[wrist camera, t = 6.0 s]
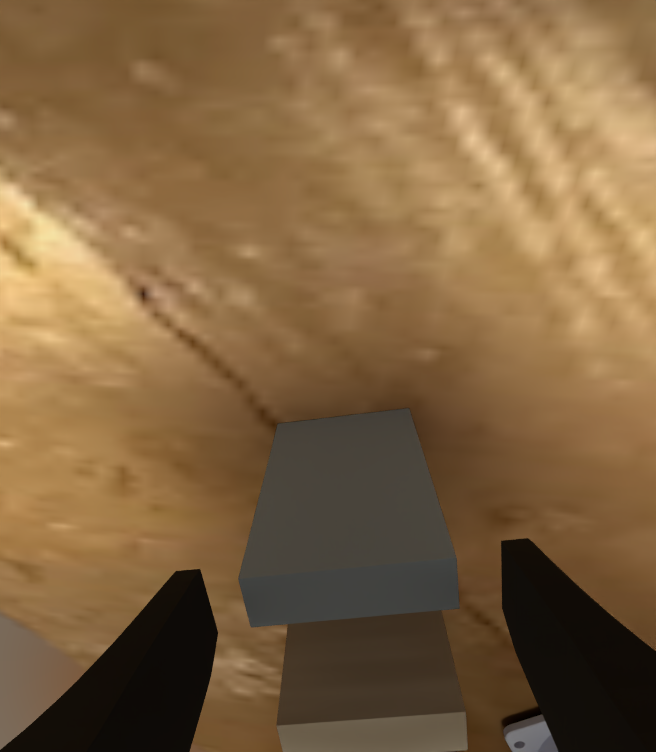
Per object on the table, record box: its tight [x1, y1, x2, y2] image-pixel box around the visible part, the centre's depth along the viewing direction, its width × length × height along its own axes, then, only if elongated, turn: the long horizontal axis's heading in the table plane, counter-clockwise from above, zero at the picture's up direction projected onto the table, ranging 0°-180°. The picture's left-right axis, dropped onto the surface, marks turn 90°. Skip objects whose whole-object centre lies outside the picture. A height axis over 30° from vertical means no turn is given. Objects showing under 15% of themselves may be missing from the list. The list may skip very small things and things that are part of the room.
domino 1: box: [238, 408, 460, 627], centre depth 15 cm, size 2×5×8 cm, turn 98°
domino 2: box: [277, 610, 468, 752], centre depth 17 cm, size 2×5×8 cm, turn 98°
